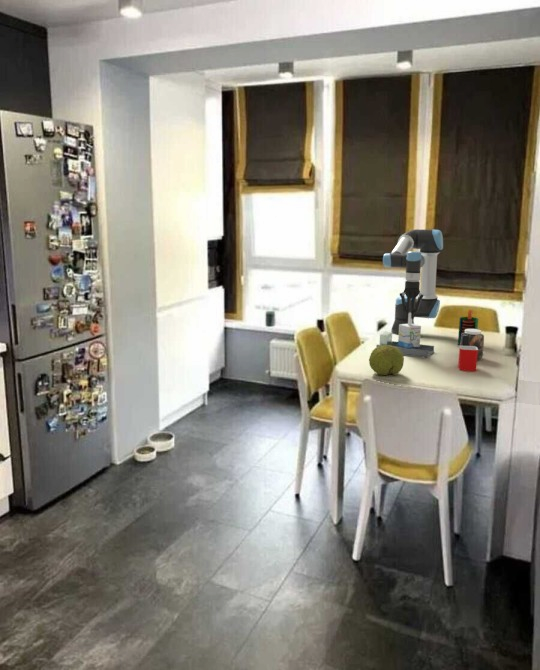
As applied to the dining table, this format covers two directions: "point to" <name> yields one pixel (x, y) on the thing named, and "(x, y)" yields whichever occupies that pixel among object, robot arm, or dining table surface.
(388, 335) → the rail cradle
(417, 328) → the ink box
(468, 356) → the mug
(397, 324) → the robot arm
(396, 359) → the fruit
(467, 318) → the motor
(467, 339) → the jar
